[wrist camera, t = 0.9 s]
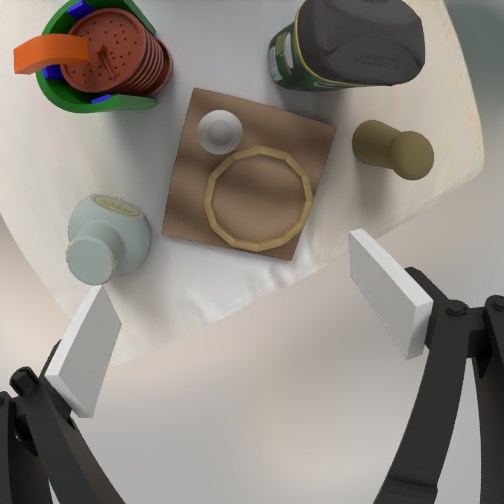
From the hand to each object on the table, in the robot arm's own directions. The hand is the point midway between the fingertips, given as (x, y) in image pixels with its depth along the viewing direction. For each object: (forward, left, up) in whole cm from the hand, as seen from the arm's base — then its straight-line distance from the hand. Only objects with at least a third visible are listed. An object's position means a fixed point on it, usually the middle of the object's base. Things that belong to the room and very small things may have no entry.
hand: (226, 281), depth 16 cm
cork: (-10, +17, -24) cm, 31 cm away
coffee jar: (-17, +6, -24) cm, 30 cm away
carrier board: (-1, +3, -24) cm, 24 cm away
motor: (-11, -13, -24) cm, 29 cm away
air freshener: (+9, -12, -24) cm, 29 cm away
